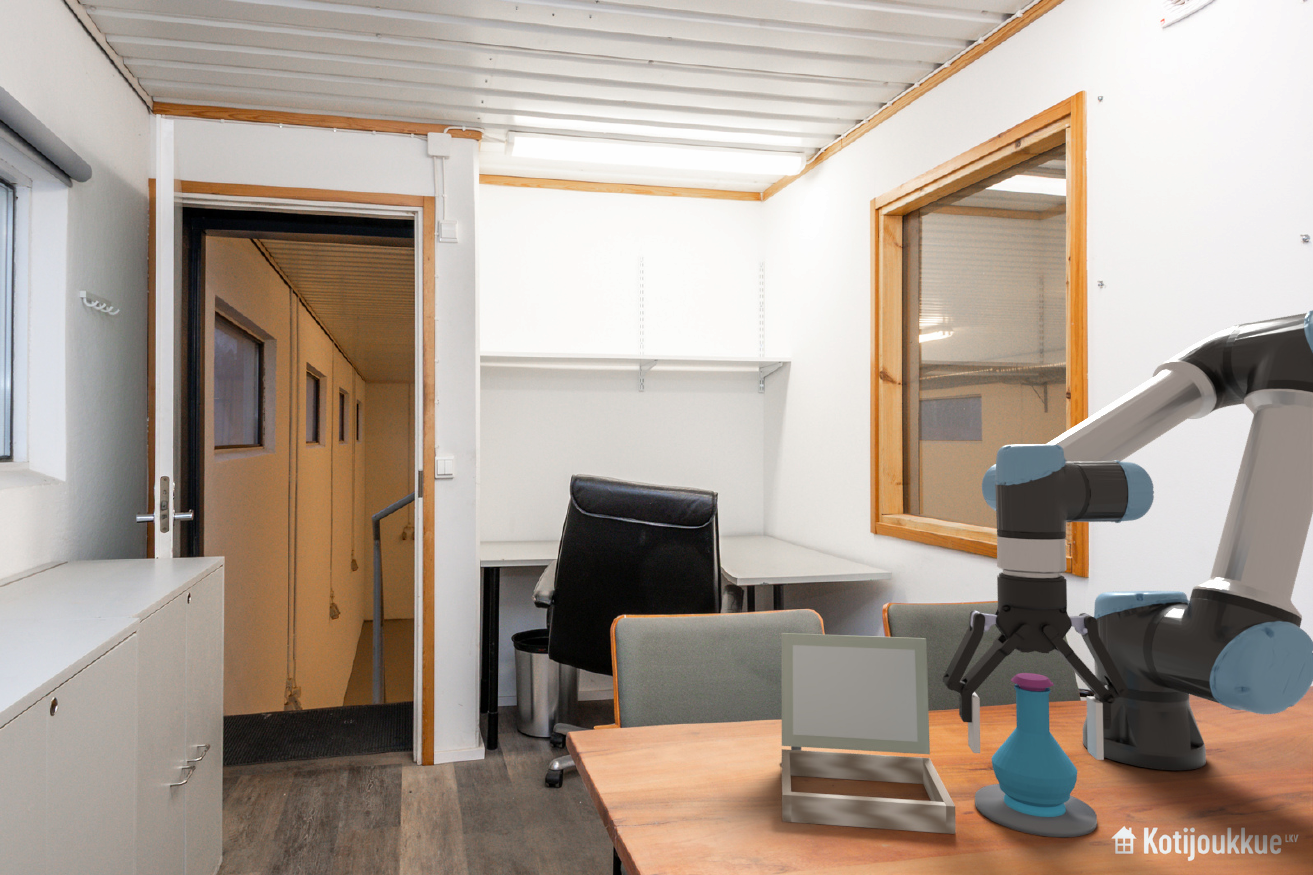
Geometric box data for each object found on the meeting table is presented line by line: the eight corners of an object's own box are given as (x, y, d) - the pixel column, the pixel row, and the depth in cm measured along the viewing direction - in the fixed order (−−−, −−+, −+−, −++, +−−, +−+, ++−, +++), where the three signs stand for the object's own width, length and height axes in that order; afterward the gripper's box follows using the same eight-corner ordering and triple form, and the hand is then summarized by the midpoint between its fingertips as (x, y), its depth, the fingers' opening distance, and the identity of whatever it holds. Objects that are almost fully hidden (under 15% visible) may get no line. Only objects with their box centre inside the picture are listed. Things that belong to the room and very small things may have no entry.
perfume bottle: (1089, 825, 88) (1086, 689, 89) (1001, 817, 90) (999, 684, 91) (1064, 793, 97) (1062, 669, 98) (985, 786, 99) (983, 665, 100)
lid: (930, 754, 102) (928, 753, 103) (926, 638, 105) (925, 638, 106) (781, 745, 105) (781, 744, 106) (781, 633, 108) (781, 632, 108)
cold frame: (929, 781, 102) (929, 758, 103) (955, 834, 88) (955, 806, 88) (781, 772, 105) (781, 749, 105) (782, 821, 91) (782, 794, 91)
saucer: (1072, 793, 99) (1072, 787, 99) (1116, 841, 86) (1116, 834, 86) (963, 786, 101) (963, 780, 101) (991, 832, 88) (991, 825, 88)
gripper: (1129, 571, 97) (1133, 747, 96) (917, 566, 100) (919, 736, 99) (1158, 579, 89) (1163, 770, 88) (928, 574, 93) (931, 757, 92)
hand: (1034, 752), depth 94 cm, fingers open, 13 cm apart
